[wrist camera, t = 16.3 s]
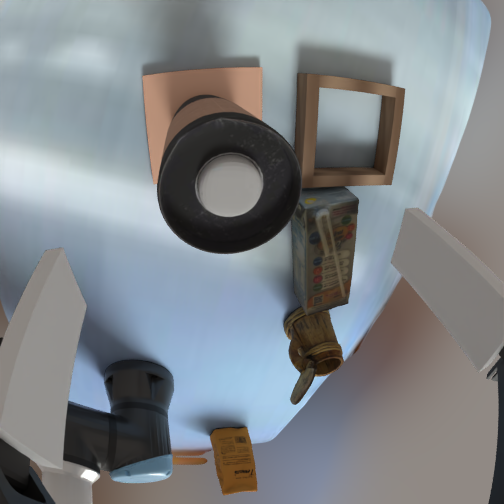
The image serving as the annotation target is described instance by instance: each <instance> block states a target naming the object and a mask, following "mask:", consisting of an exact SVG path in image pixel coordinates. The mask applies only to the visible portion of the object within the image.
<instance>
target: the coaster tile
mask: <svg viewBox="0 0 504 504" xmlns="http://www.w3.org/2000/svg"><path fill="white" fill-rule="evenodd" d="M143 90H144V103H145V115H146V125H147V135H148V144H149V152H150V160H151V168H152V175H153V182H154V184H157V183H158V175H159V170H160V165H161V159H162V154H163V149H164V145H165V140H166V135H167V131H168V128H169V126H170V123H171V121H172V119H173V117H174V115H175V113H176V111H177V110H178V108H179V107H180V106H181V105H182V104H183V103H184V102H185V101H187V100H188V99H190V98H192V97H195V96H198V95H214V96H218V97H221V98H224V99H226V100H229V101H231V102H234V103H235V104H237V105H239V106H240V107H242V108H243V109H245V110H246V111H248V112H249V113H251V114H252V115H254V116H255V117H257V118H258V119H260V120H261V121H262V67H238V68H211V69H196V70H185V71H175V72H166V73H159V74H152V75H145V76H143Z"/></svg>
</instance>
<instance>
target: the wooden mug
mask: <svg viewBox="0 0 504 504" xmlns="http://www.w3.org/2000/svg"><path fill="white" fill-rule="evenodd" d="M330 319H331V317H330V314H329V311H328V310H326V311H322V312H318V313H315V314H313V315H310V316H307V315H306V314H305V312H304V310H303V308H302V307H300V308H298V309H297V310H295V311H294V312H293V313H292V314H291V315H290V316H289V317H288V318H287V320H286V321H285V323H284V331H285V333H286V336H287V337H288V339H290V340H291V342H290V346H289V357H290V359H291V362H292V364H293V365H294V366H295V368H296V369H297V370H298V371H299V372H300V373H301V375H300V377H299V379H298V381H297V383H296V385H295V387H294V390H293V392H292V395H291V398H290V400H291V402H292V404H294V405H296V404H298V403H299V402H300V401H301V399H302V398H303V396H304V395H305V394H306V392H307V391H308V389H309V387H310V386H311V384H312V382H313V379H314V377H315V376H326V375H328V374H330V373H332V372H334V371H336V370H338V369H339V367H340V366H341V365H342V364H343V362H344V360H343V357H342V349H341V346H340V345H339V344H338V341H337V338H336V335H335V332H334V329H333V326H332V323H331V320H330ZM299 354H300V355H299Z"/></svg>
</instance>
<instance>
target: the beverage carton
mask: <svg viewBox="0 0 504 504" xmlns="http://www.w3.org/2000/svg"><path fill="white" fill-rule="evenodd" d="M358 204H359V199H358V198H357V197H356V196H355V195H354V194H352V193H351V192H350V191H349V190H348V189H346V188H345V187H344V186H334V187H314V188H302V191H301V197H300V200H299V204H298V206H297V209H296V211H295V213H294V215H293V216H292V218H291V221H292V243H293V273H294V293H295V295H296V297H297V298H298V300H299V302H300V304H301V306H302V308H303V310H304V312H305V314H306V315H307V316H310V315H313V314H315V313H318V312H322V311H326V310H329V309H332V308H335V307H337V306H342V305H345V304H348V299H349V295H350V286H351V279H352V269H353V260H354V252H355V241H356V229H357V214H358Z"/></svg>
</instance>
